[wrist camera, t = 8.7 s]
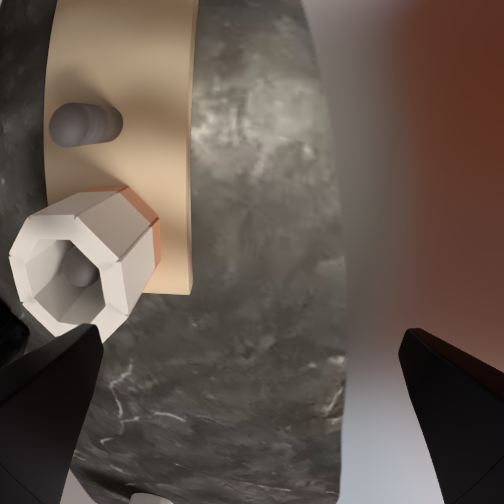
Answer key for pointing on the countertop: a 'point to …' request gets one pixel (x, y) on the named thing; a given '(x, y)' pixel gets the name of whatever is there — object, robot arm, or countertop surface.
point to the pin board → (124, 118)
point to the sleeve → (95, 249)
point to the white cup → (148, 499)
